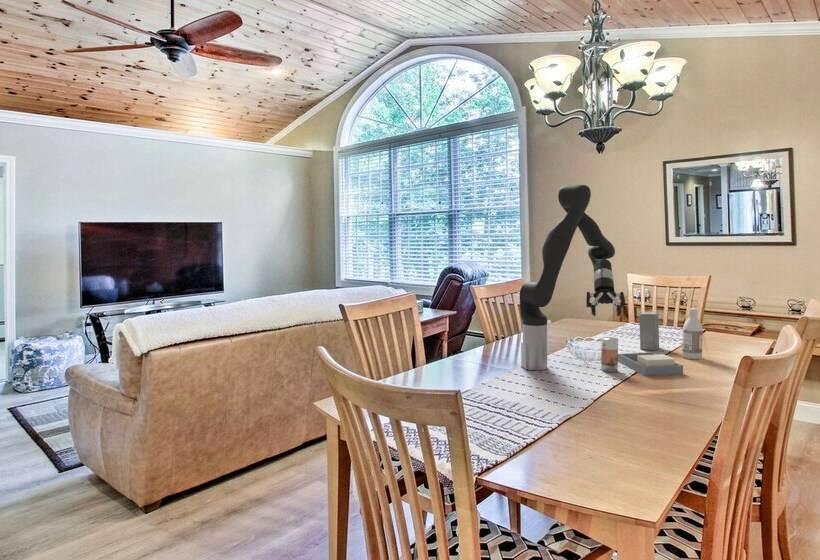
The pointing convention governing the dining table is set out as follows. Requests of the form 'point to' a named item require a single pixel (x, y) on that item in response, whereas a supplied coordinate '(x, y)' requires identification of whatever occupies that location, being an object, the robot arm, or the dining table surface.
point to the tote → (631, 362)
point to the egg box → (655, 360)
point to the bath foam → (692, 336)
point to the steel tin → (609, 355)
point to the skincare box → (649, 330)
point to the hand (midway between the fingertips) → (606, 315)
